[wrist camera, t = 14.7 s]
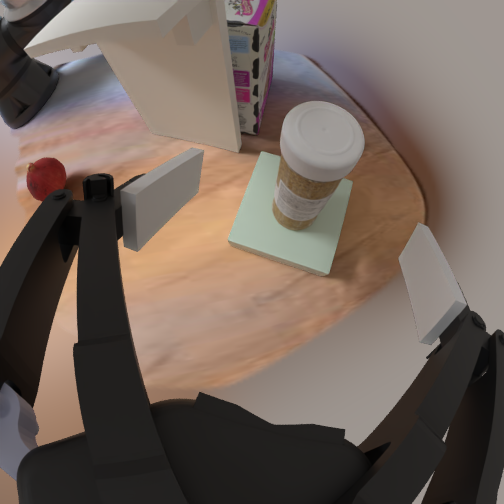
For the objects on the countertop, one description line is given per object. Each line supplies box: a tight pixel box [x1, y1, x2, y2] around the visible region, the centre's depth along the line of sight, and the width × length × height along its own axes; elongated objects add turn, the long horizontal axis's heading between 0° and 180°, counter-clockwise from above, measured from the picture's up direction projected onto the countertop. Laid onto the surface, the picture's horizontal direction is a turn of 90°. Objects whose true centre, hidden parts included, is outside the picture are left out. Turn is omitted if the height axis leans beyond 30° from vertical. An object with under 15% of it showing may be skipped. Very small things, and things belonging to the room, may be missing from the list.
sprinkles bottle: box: [272, 101, 365, 231], centre depth 19 cm, size 5×5×14 cm
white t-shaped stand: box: [23, 0, 242, 153], centre depth 20 cm, size 12×7×22 cm, turn 71°
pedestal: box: [228, 151, 353, 276], centre depth 27 cm, size 10×10×3 cm
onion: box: [27, 157, 66, 201], centre depth 27 cm, size 6×6×8 cm
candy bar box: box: [224, 0, 277, 135], centre depth 24 cm, size 11×5×16 cm, turn 169°
